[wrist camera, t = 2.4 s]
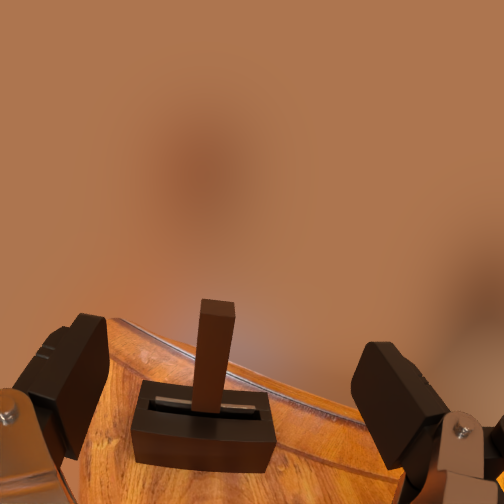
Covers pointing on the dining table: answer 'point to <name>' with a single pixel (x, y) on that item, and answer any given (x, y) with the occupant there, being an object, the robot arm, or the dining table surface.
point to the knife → (210, 368)
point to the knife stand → (202, 433)
